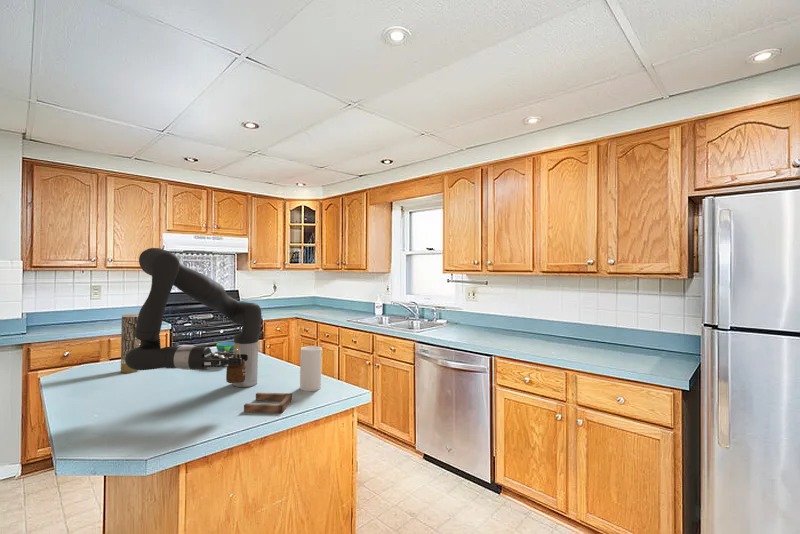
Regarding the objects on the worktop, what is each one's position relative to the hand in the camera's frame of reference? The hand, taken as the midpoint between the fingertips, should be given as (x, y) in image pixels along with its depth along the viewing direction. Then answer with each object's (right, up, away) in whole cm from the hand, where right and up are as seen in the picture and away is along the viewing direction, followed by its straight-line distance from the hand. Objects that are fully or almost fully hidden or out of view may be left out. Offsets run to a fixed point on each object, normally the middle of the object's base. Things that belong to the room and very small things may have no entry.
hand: (244, 359), depth 134 cm
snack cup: (-32, -17, +62) cm, 72 cm away
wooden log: (-68, -16, +46) cm, 84 cm away
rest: (+6, -18, +7) cm, 20 cm away
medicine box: (-52, -16, +61) cm, 82 cm away
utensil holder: (-3, -7, 0) cm, 8 cm away
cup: (+16, -18, +29) cm, 37 cm away
